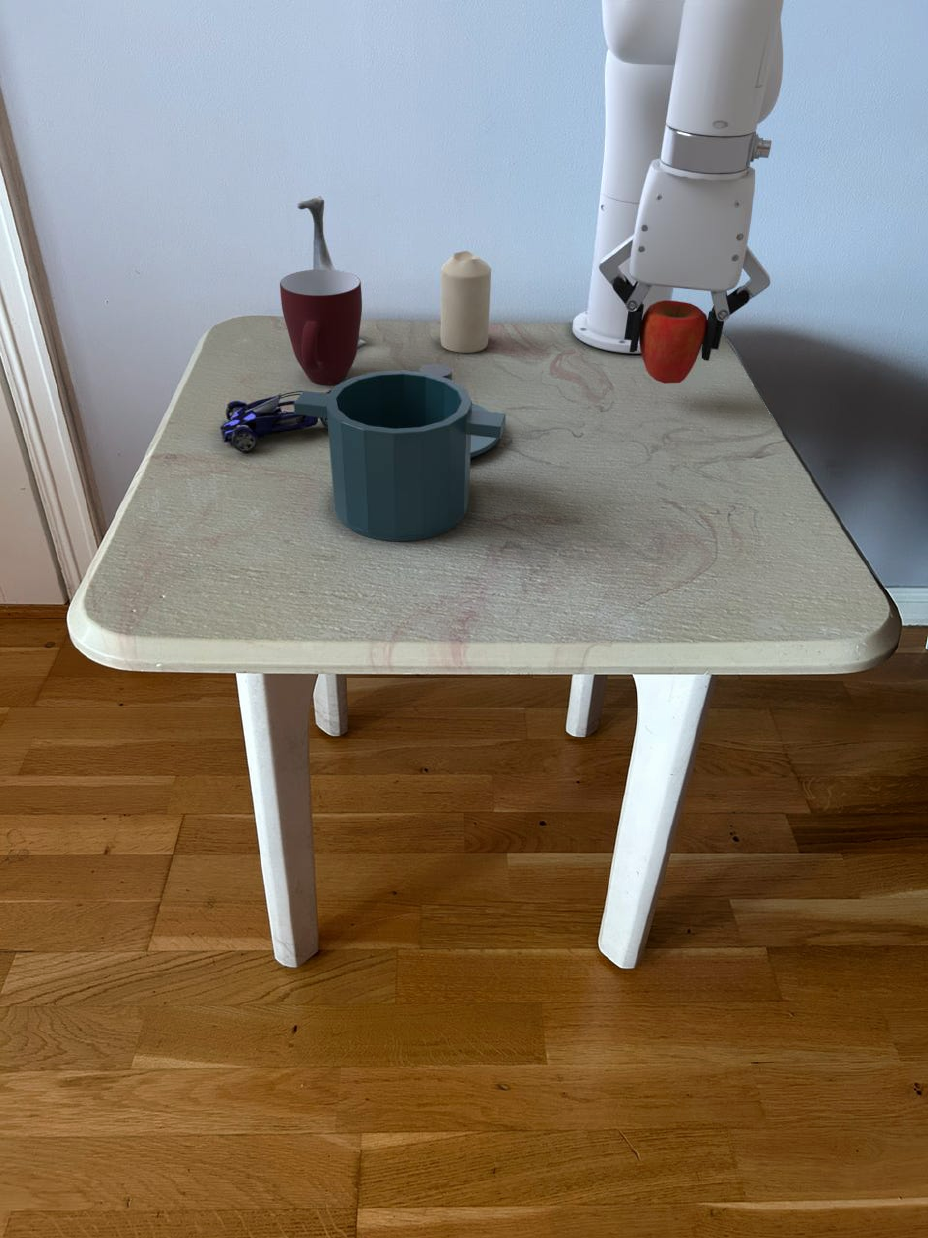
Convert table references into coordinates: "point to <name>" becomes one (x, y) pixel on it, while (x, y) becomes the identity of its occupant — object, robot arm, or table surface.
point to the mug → (323, 321)
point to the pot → (400, 451)
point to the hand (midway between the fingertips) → (669, 349)
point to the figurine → (319, 238)
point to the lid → (477, 442)
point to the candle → (465, 303)
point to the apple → (671, 339)
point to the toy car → (262, 421)
